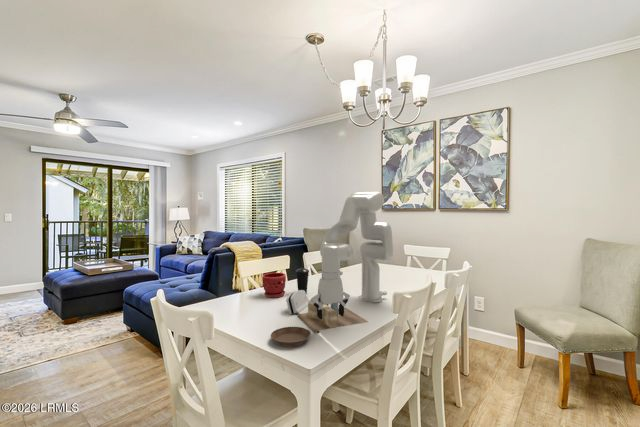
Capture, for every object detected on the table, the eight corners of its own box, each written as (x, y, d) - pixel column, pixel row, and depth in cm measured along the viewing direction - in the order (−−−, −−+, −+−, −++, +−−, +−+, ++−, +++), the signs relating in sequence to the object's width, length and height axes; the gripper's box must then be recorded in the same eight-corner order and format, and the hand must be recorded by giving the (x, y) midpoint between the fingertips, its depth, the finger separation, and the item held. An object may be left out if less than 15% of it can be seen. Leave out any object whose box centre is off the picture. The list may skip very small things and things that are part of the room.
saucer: (263, 339, 116) (263, 332, 116) (296, 330, 125) (296, 323, 125) (284, 353, 105) (284, 345, 105) (318, 342, 114) (318, 335, 114)
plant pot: (273, 291, 184) (273, 271, 184) (290, 295, 176) (290, 274, 176) (257, 296, 173) (257, 275, 173) (274, 300, 166) (274, 278, 166)
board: (345, 309, 151) (345, 307, 151) (368, 324, 131) (368, 321, 131) (297, 316, 141) (297, 314, 141) (315, 333, 122) (315, 330, 122)
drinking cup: (299, 296, 173) (299, 260, 173) (293, 293, 180) (293, 258, 180) (311, 294, 177) (311, 259, 177) (305, 291, 184) (305, 258, 183)
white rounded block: (299, 315, 142) (292, 294, 143) (290, 317, 143) (283, 296, 144) (312, 305, 158) (306, 286, 159) (304, 307, 159) (298, 288, 160)
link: (305, 313, 142) (305, 300, 142) (323, 310, 146) (323, 298, 146) (323, 328, 124) (323, 313, 124) (343, 325, 127) (343, 310, 127)
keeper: (335, 316, 141) (335, 297, 141) (340, 319, 137) (340, 300, 137) (325, 317, 139) (325, 299, 139) (329, 321, 135) (329, 301, 135)
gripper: (345, 272, 134) (344, 311, 134) (307, 275, 127) (307, 316, 127) (353, 275, 127) (353, 316, 127) (314, 279, 120) (314, 322, 121)
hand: (330, 316), depth 127 cm, fingers open, 9 cm apart
